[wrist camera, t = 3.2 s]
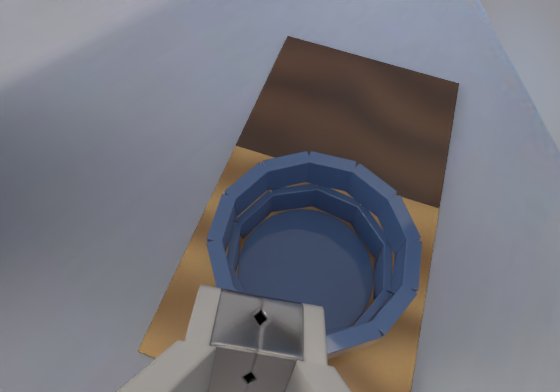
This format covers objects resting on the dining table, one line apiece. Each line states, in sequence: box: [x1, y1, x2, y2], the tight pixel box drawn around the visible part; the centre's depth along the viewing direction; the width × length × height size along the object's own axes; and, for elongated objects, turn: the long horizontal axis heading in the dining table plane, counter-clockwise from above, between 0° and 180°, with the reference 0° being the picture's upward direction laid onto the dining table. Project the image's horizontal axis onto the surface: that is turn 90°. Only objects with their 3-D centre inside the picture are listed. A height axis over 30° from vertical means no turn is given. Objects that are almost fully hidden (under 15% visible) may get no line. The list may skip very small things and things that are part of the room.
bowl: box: [206, 151, 422, 360], centre depth 29 cm, size 13×13×6 cm
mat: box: [236, 36, 459, 208], centre depth 40 cm, size 15×18×1 cm
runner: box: [138, 146, 439, 392], centre depth 32 cm, size 18×18×1 cm
